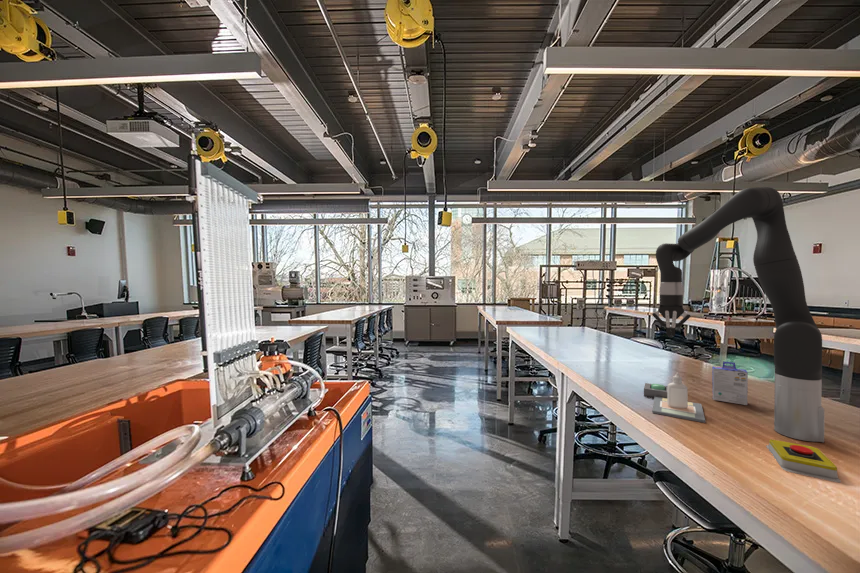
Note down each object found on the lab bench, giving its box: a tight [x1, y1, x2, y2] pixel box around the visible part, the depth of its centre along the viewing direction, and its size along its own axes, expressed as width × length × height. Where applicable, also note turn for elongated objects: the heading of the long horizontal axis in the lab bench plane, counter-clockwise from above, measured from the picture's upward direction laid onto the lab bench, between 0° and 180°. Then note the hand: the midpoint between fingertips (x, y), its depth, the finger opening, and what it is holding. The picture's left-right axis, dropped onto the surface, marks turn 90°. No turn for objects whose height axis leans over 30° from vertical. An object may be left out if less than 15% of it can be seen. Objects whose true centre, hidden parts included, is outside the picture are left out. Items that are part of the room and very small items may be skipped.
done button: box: [650, 383, 666, 390], centre depth 132 cm, size 4×4×3 cm
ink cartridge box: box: [711, 361, 749, 406], centre depth 125 cm, size 10×6×14 cm, turn 53°
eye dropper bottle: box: [667, 372, 689, 409], centre depth 117 cm, size 4×6×12 cm
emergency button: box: [765, 439, 842, 484], centre depth 82 cm, size 9×4×15 cm
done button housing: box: [643, 382, 668, 399], centre depth 132 cm, size 9×9×3 cm
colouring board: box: [651, 396, 706, 424], centre depth 117 cm, size 14×18×1 cm
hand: (670, 337), depth 132 cm, fingers closed
